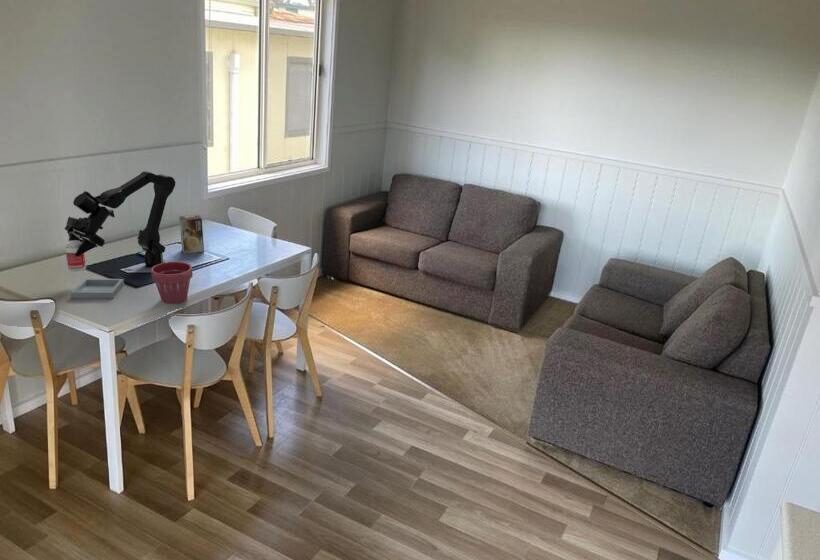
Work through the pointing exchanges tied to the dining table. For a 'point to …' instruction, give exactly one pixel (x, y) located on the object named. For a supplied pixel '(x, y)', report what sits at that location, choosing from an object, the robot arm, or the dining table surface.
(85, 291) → the tray
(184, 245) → the coffee box
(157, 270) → the plant pot
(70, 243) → the pill bottle
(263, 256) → the dining table surface
